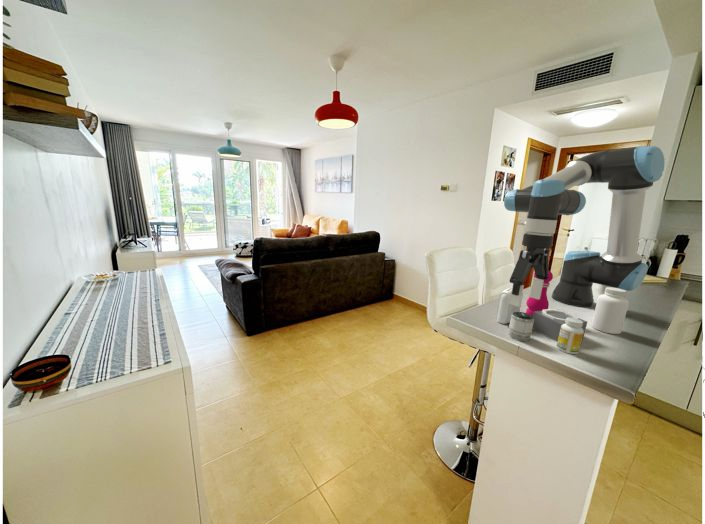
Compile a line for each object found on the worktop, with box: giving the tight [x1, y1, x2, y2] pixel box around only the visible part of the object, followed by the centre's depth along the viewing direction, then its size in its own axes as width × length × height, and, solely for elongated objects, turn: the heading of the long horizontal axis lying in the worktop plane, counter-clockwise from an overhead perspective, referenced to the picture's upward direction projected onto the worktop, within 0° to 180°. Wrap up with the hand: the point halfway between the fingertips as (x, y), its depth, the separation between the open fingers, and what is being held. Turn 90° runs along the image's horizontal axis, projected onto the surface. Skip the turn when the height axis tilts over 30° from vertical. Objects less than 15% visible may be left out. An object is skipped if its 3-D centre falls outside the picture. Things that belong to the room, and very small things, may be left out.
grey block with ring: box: [532, 308, 588, 342], centre depth 94 cm, size 11×10×7 cm
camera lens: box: [508, 311, 534, 342], centre depth 90 cm, size 6×6×8 cm
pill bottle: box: [591, 286, 629, 335], centre depth 98 cm, size 8×8×15 cm
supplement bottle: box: [556, 317, 585, 355], centre depth 83 cm, size 5×5×10 cm
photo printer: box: [495, 287, 524, 325], centre depth 102 cm, size 10×4×12 cm, turn 123°
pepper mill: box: [525, 269, 554, 317], centre depth 108 cm, size 7×7×20 cm
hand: (525, 301), depth 88 cm, fingers open, 13 cm apart
